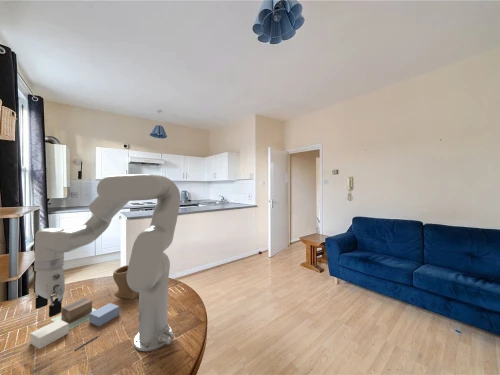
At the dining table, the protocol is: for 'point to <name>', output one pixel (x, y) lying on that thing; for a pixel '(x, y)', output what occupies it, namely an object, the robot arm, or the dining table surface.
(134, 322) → the dining table surface
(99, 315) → the brick
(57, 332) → the brick
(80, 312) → the brick
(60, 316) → the build board
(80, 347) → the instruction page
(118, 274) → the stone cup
